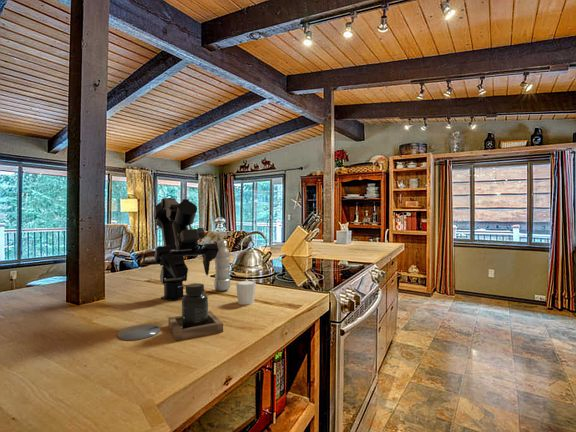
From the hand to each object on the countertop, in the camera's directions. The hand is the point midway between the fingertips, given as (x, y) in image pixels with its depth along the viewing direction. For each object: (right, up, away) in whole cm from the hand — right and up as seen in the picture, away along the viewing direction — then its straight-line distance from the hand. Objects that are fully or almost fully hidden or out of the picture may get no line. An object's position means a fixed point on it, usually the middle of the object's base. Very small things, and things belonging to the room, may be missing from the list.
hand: (192, 276), depth 94 cm
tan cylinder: (+14, -13, +17) cm, 26 cm away
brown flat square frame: (+3, -13, -7) cm, 15 cm away
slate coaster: (-11, -13, -10) cm, 20 cm away
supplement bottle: (+3, -13, -7) cm, 15 cm away
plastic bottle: (+2, -12, +34) cm, 36 cm away
